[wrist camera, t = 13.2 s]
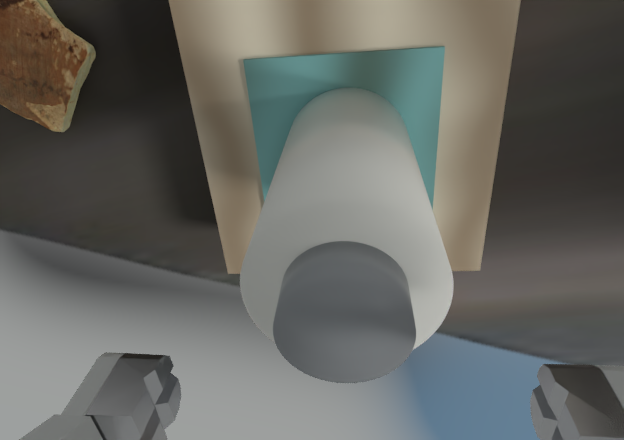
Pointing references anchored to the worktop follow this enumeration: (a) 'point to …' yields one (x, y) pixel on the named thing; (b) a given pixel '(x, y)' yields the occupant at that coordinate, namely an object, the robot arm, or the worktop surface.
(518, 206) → the worktop surface
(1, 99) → the shard
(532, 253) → the worktop surface
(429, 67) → the birch plinth
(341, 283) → the white bottle
